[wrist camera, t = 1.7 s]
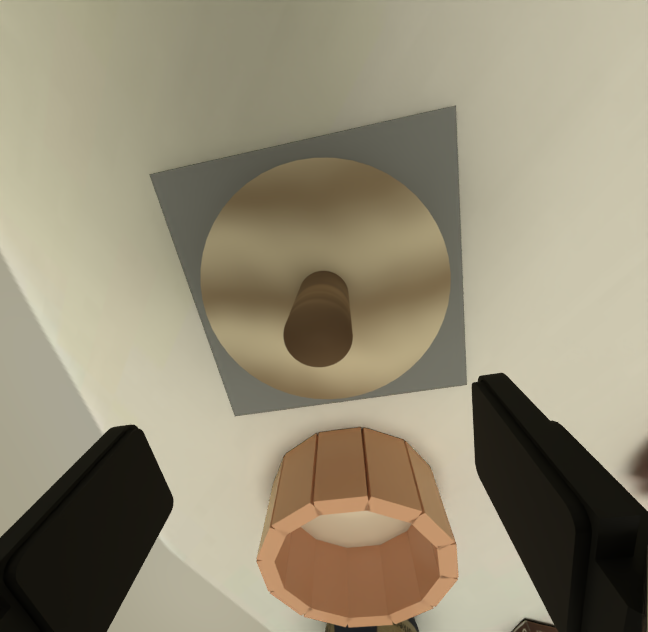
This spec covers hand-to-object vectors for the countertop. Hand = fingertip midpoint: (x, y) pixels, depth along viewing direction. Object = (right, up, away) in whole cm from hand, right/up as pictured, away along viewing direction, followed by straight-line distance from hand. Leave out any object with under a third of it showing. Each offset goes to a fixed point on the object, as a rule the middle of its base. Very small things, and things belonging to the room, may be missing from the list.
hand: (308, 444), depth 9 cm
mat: (0, +5, +12) cm, 13 cm away
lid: (0, +5, +11) cm, 13 cm away
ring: (+3, -11, +18) cm, 22 cm away
